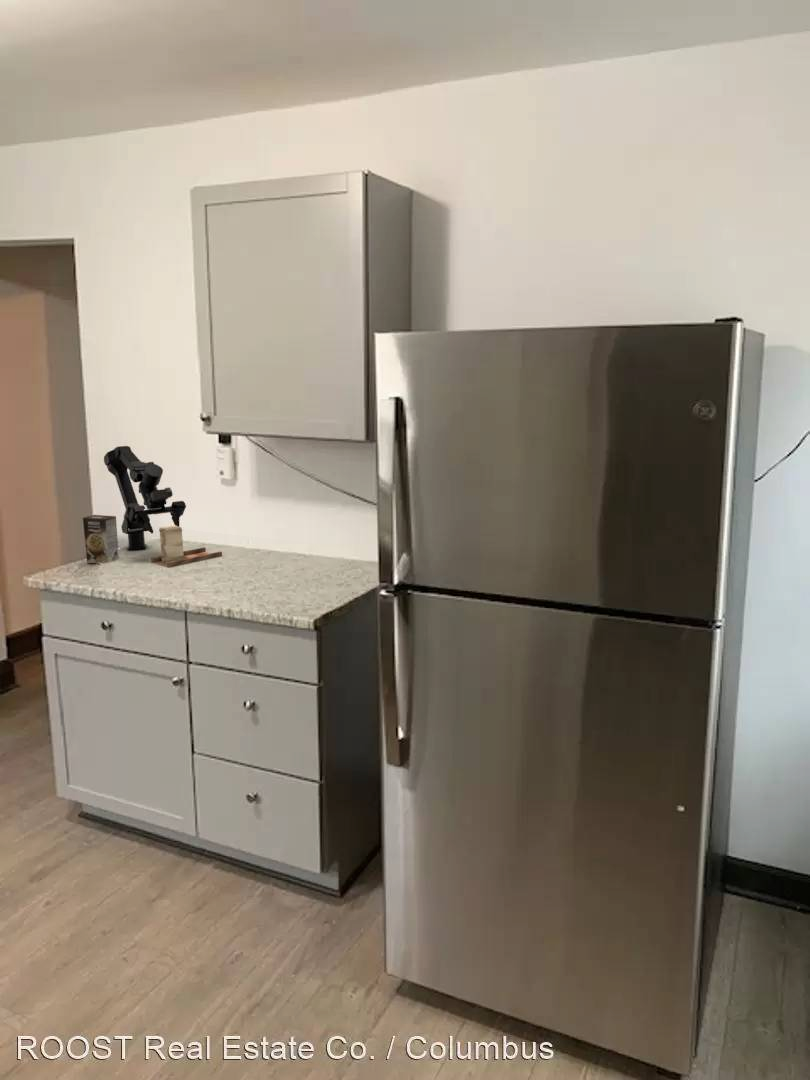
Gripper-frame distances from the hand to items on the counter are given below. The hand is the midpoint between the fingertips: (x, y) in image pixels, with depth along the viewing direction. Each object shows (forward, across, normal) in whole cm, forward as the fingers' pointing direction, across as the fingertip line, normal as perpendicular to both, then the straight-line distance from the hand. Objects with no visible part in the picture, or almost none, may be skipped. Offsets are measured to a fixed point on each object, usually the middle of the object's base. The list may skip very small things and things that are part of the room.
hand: (165, 530), depth 284 cm
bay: (+10, +6, +6) cm, 13 cm away
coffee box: (-3, -17, +19) cm, 26 cm away
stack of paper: (+10, 0, +4) cm, 11 cm away
